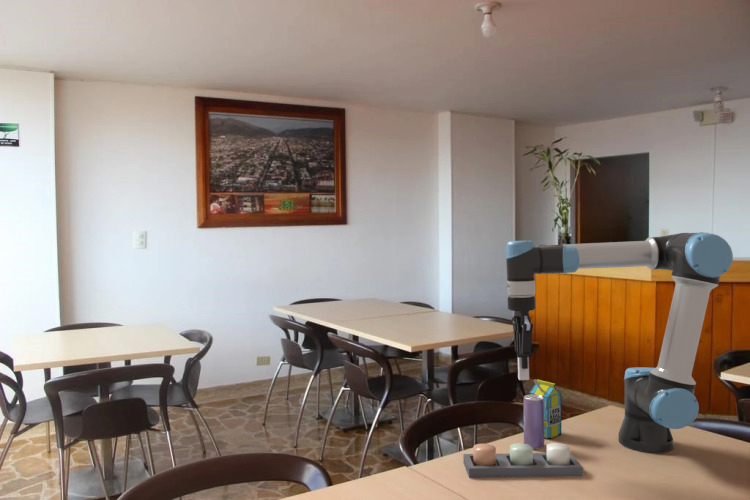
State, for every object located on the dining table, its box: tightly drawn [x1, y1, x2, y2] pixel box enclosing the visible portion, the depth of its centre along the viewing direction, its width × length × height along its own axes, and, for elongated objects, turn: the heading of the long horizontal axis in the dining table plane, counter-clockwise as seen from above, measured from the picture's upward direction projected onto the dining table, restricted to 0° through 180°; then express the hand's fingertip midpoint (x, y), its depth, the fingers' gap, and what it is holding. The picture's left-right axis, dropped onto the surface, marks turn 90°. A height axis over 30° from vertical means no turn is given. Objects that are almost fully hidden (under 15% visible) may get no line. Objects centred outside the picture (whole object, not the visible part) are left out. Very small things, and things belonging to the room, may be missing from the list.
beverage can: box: [523, 394, 545, 450], centre depth 176 cm, size 6×6×15 cm
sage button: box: [509, 442, 534, 466], centre depth 159 cm, size 6×6×5 cm
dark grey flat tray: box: [462, 452, 584, 479], centre depth 159 cm, size 30×10×2 cm, turn 90°
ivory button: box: [546, 442, 571, 465], centre depth 159 cm, size 6×6×5 cm
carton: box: [528, 379, 562, 441], centre depth 186 cm, size 7×8×18 cm
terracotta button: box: [472, 443, 497, 466], centre depth 159 cm, size 6×6×5 cm
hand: (523, 379), depth 164 cm, fingers closed
